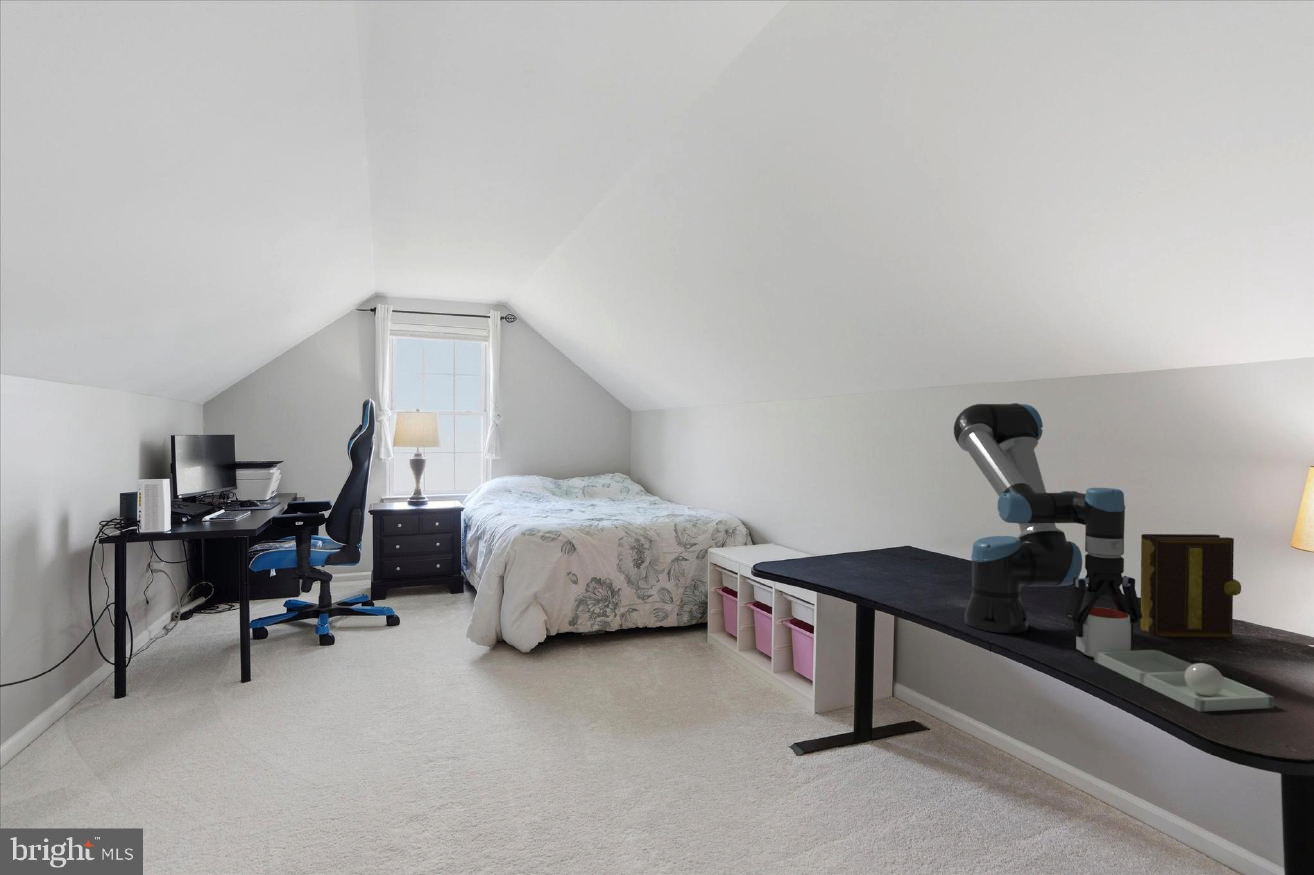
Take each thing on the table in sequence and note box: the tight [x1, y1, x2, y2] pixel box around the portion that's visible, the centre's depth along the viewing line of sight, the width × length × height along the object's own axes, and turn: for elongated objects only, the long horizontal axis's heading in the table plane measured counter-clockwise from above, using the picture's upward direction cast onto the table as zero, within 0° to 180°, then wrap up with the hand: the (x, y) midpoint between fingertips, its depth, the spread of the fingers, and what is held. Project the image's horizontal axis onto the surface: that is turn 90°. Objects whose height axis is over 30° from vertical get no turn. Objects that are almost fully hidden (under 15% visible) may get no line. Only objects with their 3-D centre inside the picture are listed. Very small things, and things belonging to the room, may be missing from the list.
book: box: [1139, 533, 1242, 639], centre depth 171 cm, size 22×8×25 cm, turn 87°
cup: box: [1080, 606, 1130, 659], centre depth 156 cm, size 10×10×10 cm
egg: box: [1184, 662, 1224, 696], centre depth 130 cm, size 6×6×6 cm
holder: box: [1093, 649, 1275, 712], centre depth 137 cm, size 26×15×3 cm, turn 5°
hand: (1103, 649), depth 156 cm, fingers closed on cup, 10 cm apart
